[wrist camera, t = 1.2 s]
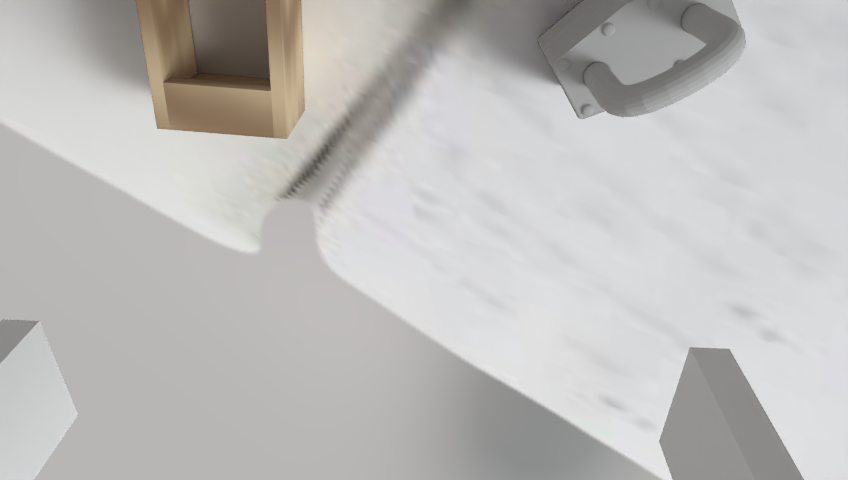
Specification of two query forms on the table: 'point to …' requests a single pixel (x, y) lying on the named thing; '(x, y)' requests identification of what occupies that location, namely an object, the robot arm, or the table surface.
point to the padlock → (641, 52)
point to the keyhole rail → (220, 94)
